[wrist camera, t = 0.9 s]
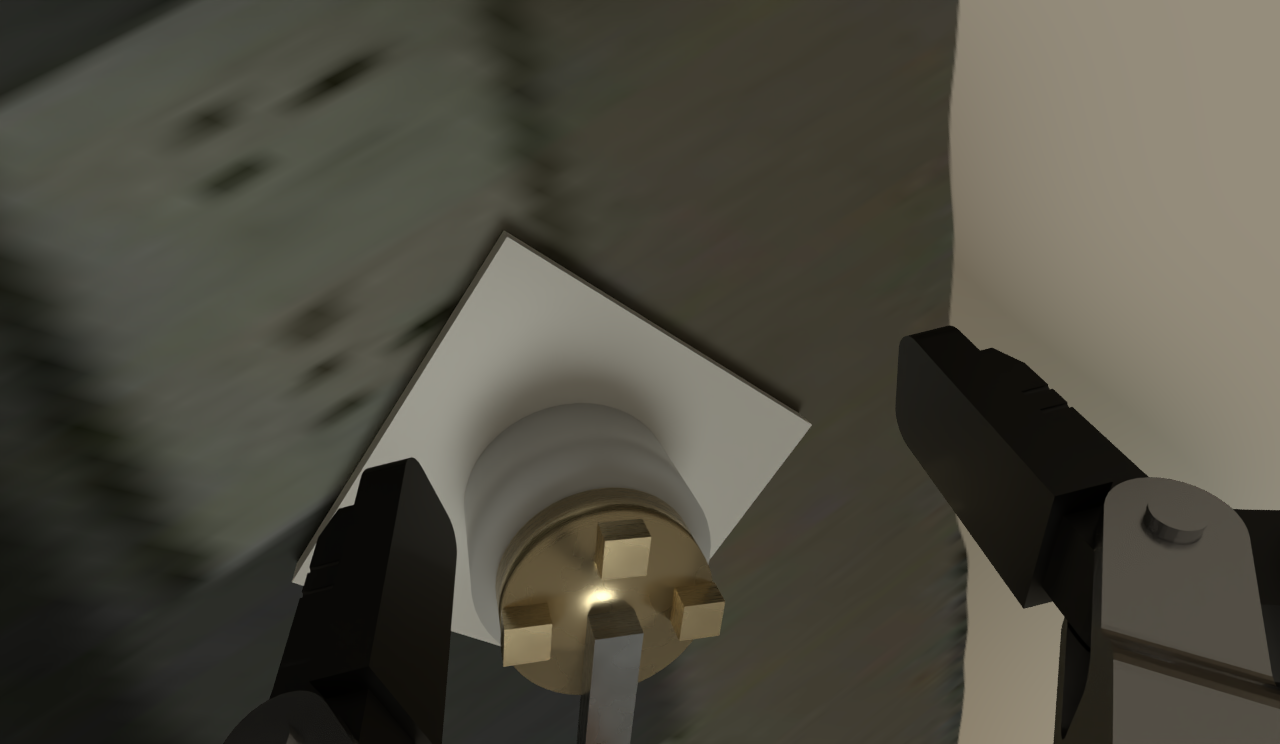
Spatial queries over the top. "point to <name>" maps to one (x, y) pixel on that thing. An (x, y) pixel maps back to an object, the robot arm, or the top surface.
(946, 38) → the top surface
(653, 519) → the lever-handled chuck
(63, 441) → the top surface
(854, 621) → the top surface
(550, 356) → the cylinder on square plate
